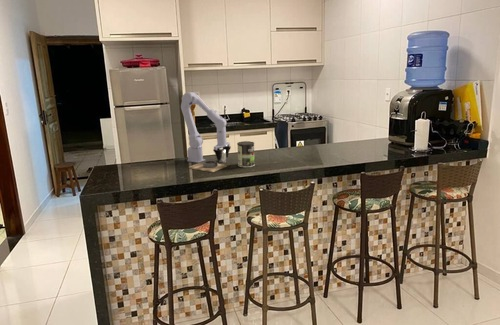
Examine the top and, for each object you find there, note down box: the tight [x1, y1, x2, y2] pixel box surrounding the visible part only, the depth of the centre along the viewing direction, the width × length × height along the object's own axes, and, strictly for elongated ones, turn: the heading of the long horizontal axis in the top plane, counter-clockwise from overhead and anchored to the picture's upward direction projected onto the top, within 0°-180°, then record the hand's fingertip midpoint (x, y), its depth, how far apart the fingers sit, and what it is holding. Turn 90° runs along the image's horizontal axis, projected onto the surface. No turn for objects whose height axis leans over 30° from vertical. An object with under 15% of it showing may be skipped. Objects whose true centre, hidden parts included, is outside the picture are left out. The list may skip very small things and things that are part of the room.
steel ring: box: [202, 159, 219, 168], centre depth 221 cm, size 8×8×2 cm
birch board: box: [188, 161, 228, 173], centre depth 222 cm, size 18×14×1 cm
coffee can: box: [236, 140, 256, 168], centre depth 223 cm, size 10×10×14 cm
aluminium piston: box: [218, 148, 227, 164], centre depth 234 cm, size 4×4×8 cm
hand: (222, 158), depth 234 cm, fingers open, 7 cm apart
